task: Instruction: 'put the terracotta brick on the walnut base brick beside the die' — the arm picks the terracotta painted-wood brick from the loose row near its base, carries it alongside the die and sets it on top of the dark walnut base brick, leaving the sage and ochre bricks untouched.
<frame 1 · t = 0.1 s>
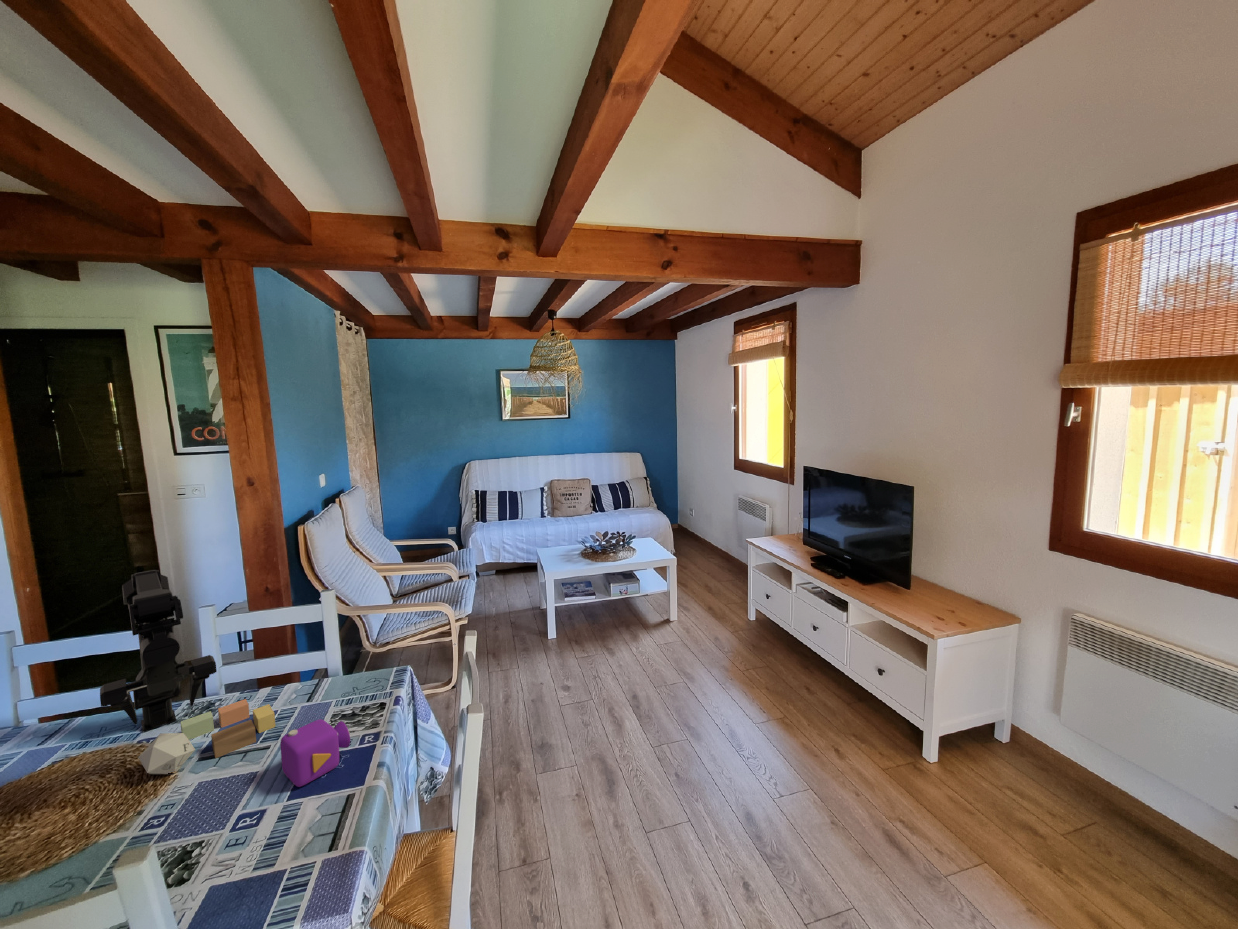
hand: (164, 714, 109), 15 cm above the table, fingers open, 9 cm apart
walnut base: (234, 746, 120), on the table
terracotta brick: (234, 720, 130), on the table
toy camera: (318, 767, 112), on the table
die: (169, 770, 111), on the table
sage brick: (198, 733, 124), on the table
ochre brick: (264, 725, 127), on the table
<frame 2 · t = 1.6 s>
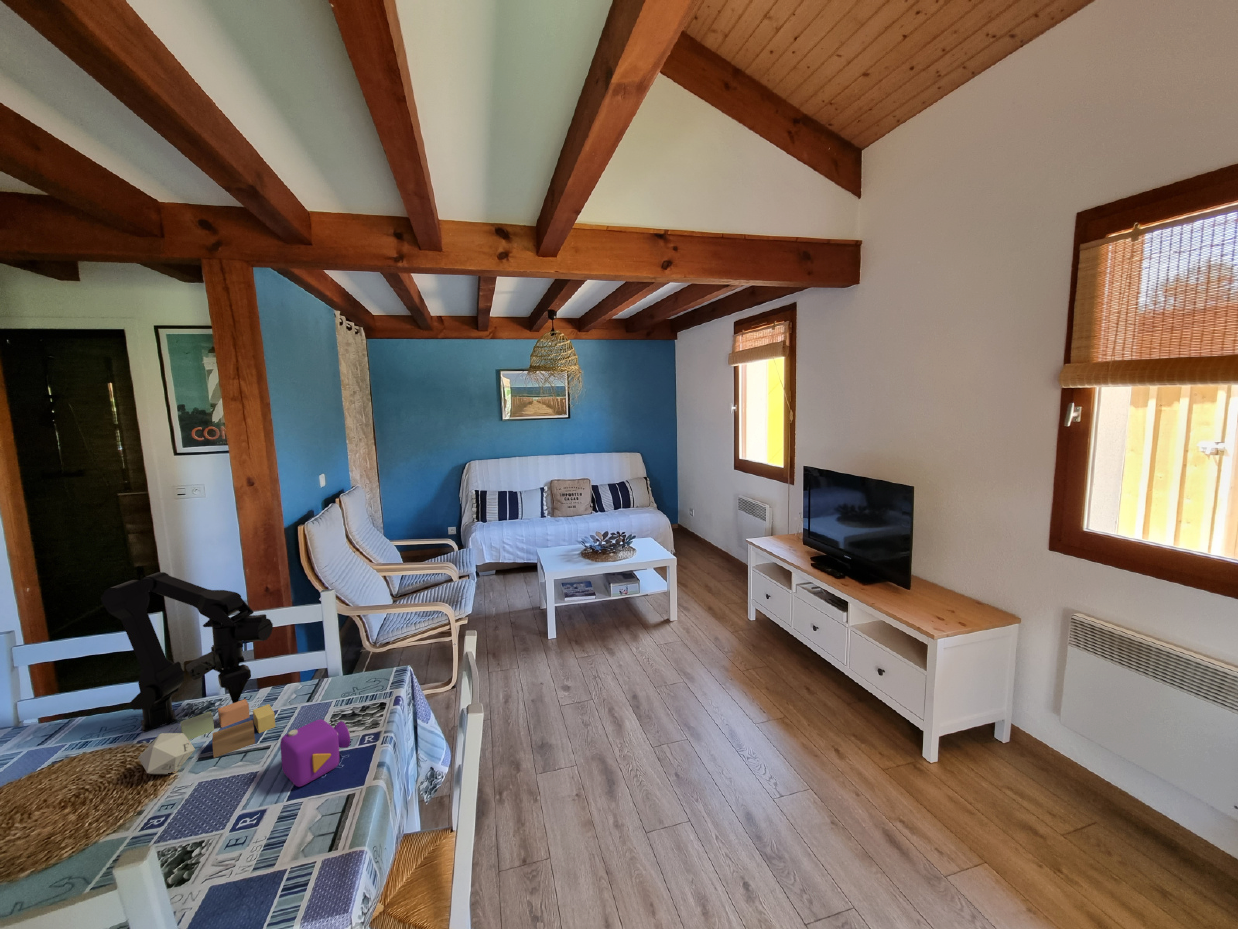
hand: (231, 695, 129), 7 cm above the table, fingers open, 9 cm apart
nothing on the table moved.
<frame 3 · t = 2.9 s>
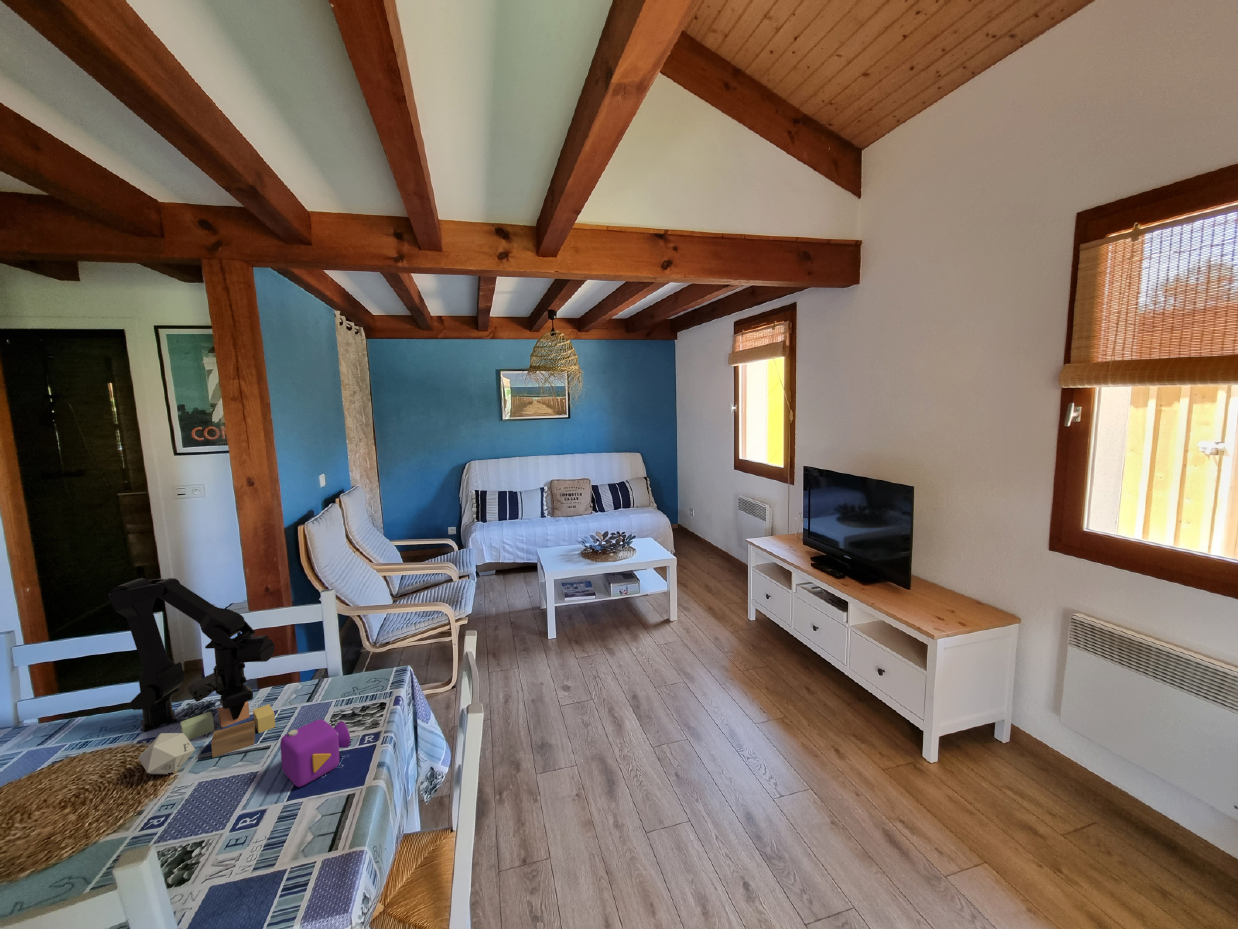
hand: (234, 716, 130), 1 cm above the table, fingers closed on terracotta brick, 4 cm apart
terracotta brick: (234, 719, 130), on the table, touching gripper
everything else where it was.
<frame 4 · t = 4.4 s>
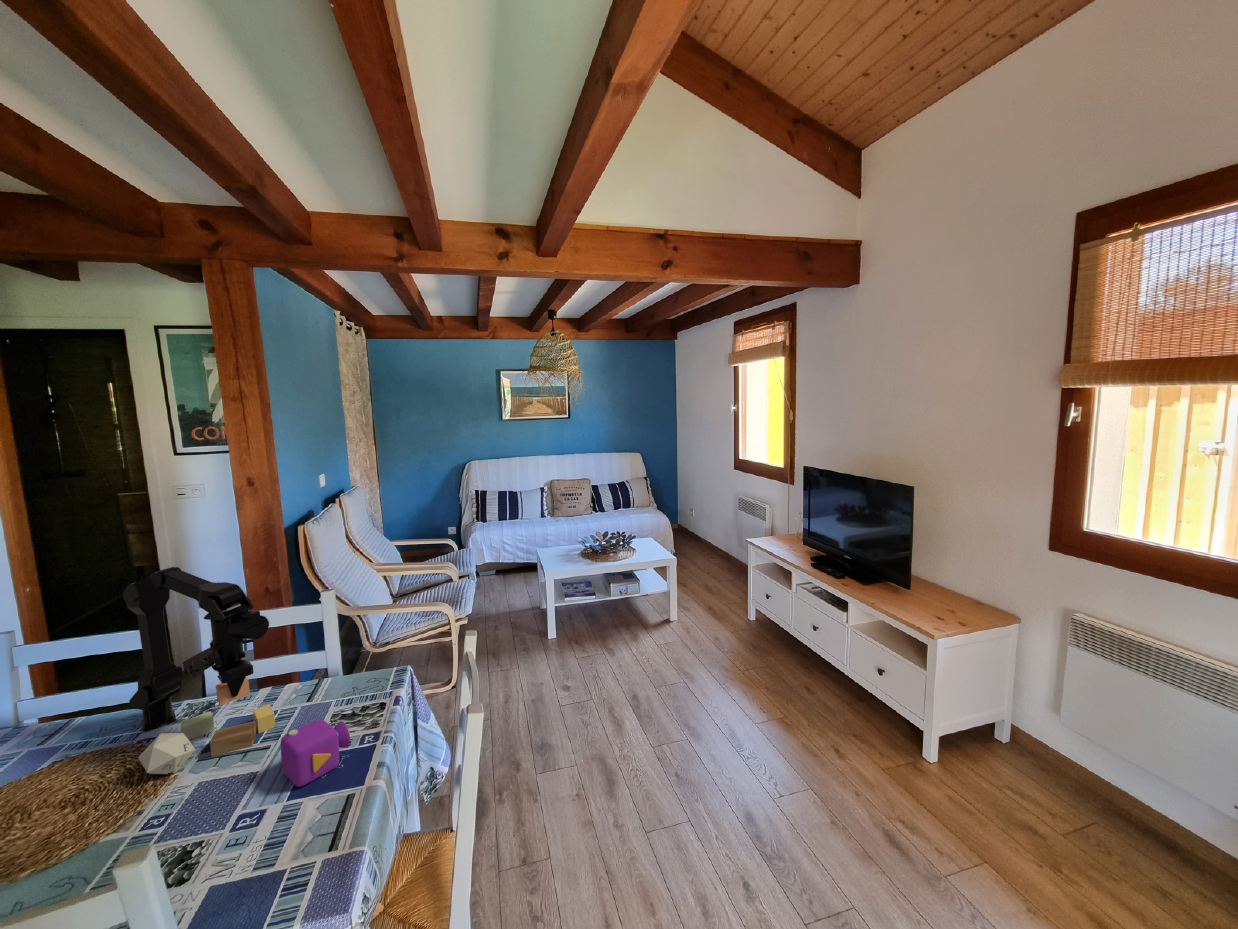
hand: (233, 693, 122), 12 cm above the table, fingers closed on terracotta brick, 4 cm apart
terracotta brick: (233, 697, 122), point 10 cm above the table, touching gripper
everything else where it was.
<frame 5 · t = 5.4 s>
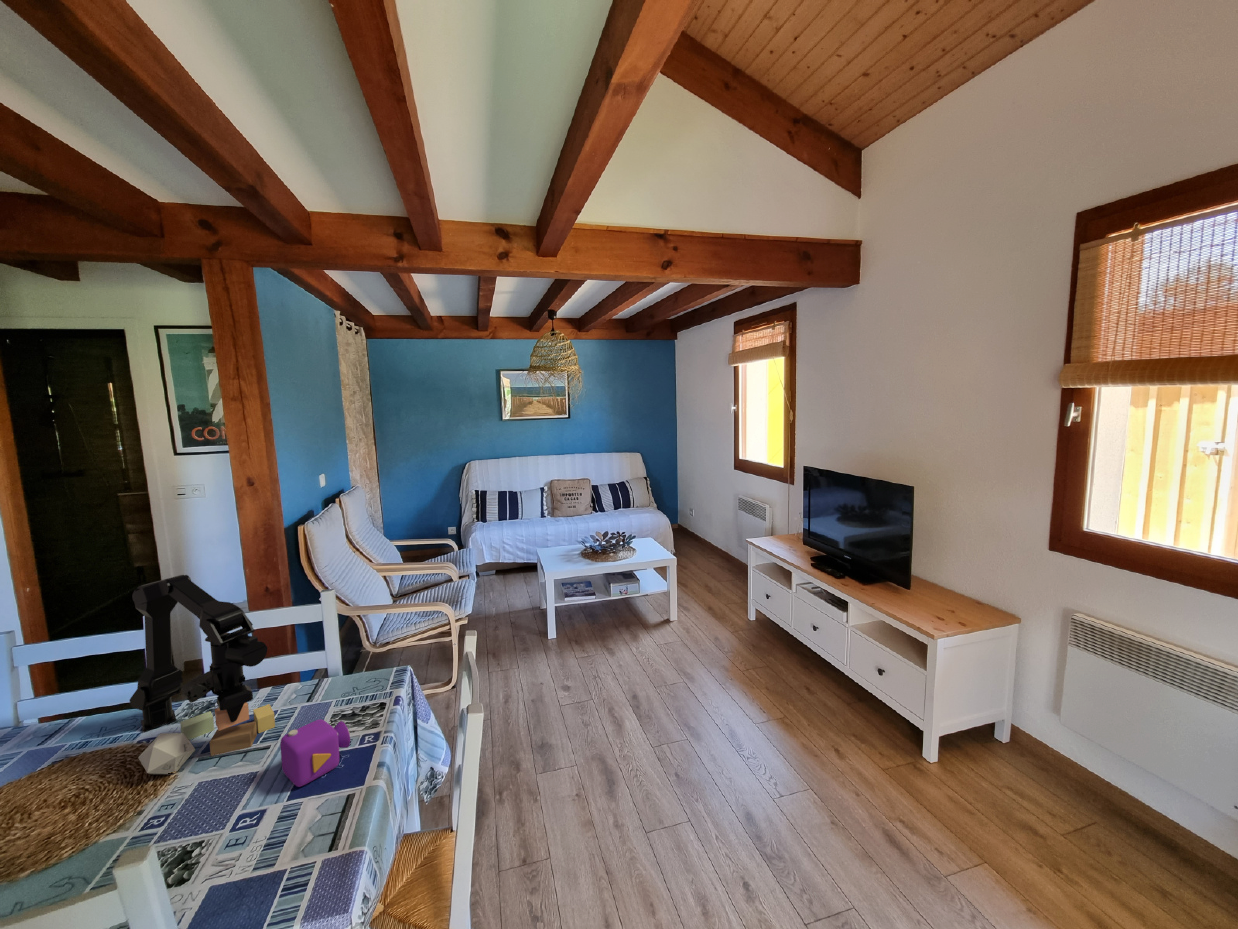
hand: (232, 718, 119), 7 cm above the table, fingers closed on terracotta brick, 4 cm apart
terracotta brick: (232, 721, 119), point 6 cm above the table, touching gripper
everything else where it was.
when the fingers open (6 cm above the table, at t = 5.8 s): terracotta brick drops 1 cm, resting on walnut base.
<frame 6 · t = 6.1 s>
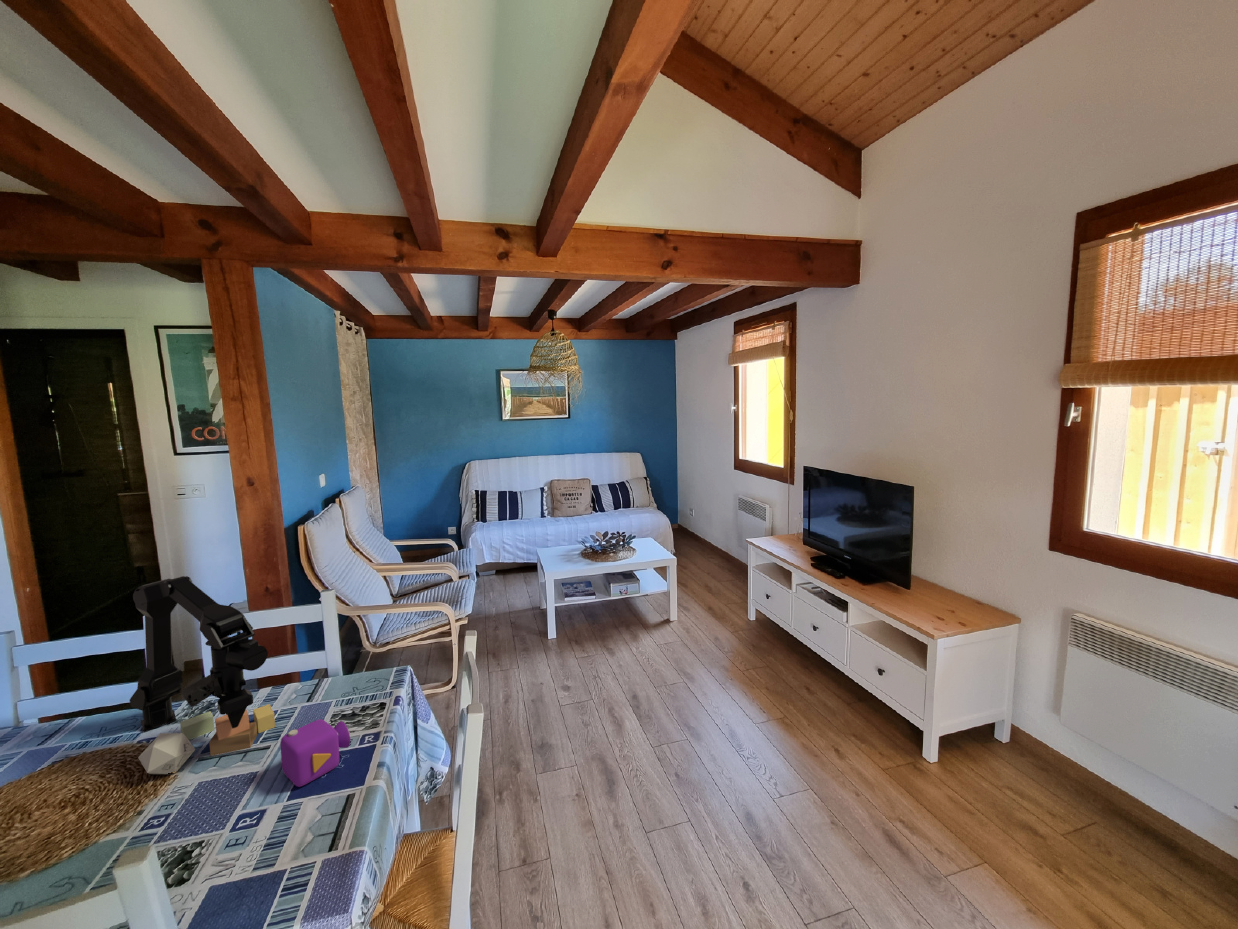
hand: (232, 722, 119), 6 cm above the table, fingers open, 6 cm apart
walnut base: (234, 746, 120), on the table, touching terracotta brick
terracotta brick: (233, 731, 119), point 4 cm above the table, touching walnut base
everything else where it was.
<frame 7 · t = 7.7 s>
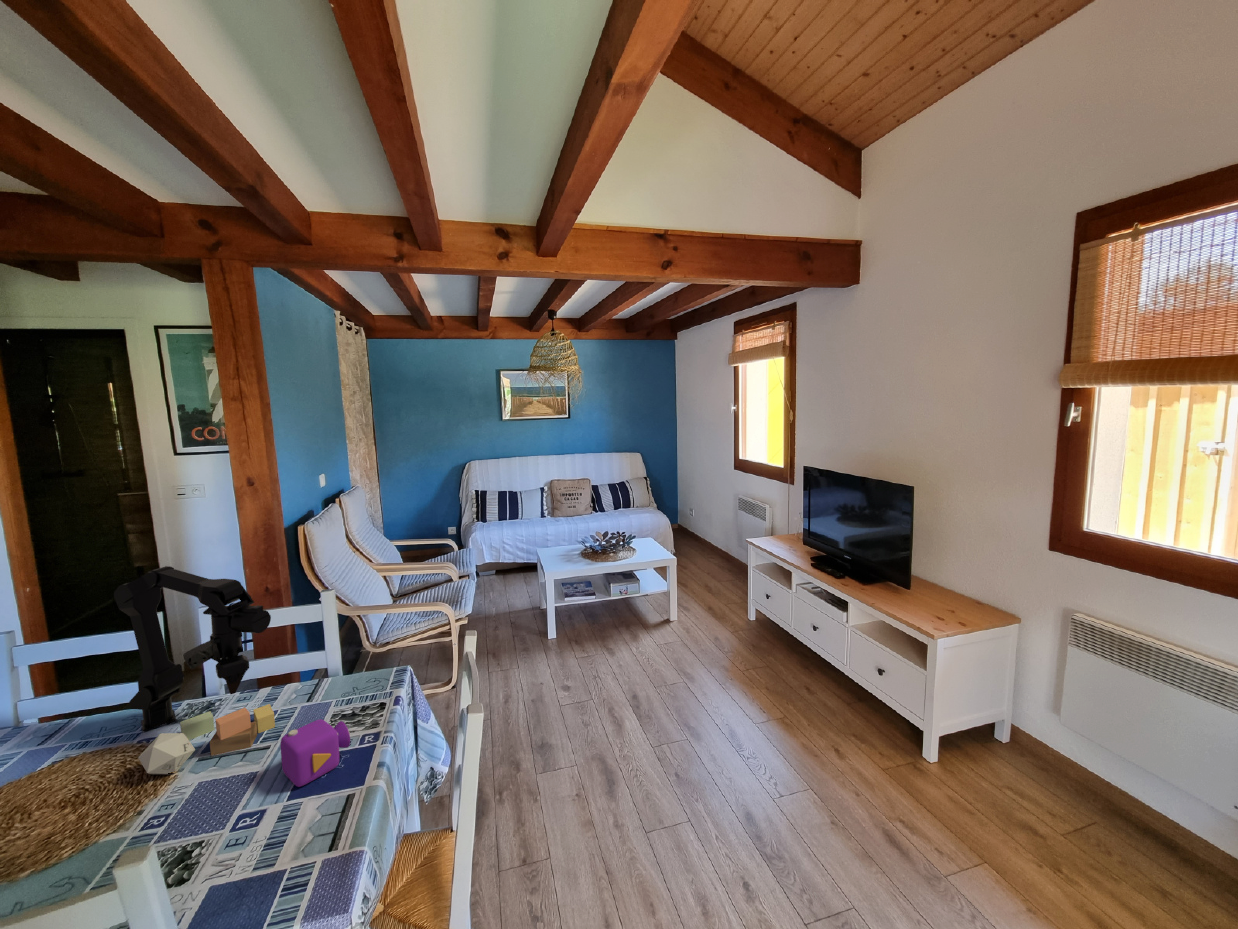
hand: (230, 686, 125), 12 cm above the table, fingers open, 9 cm apart
nothing on the table moved.
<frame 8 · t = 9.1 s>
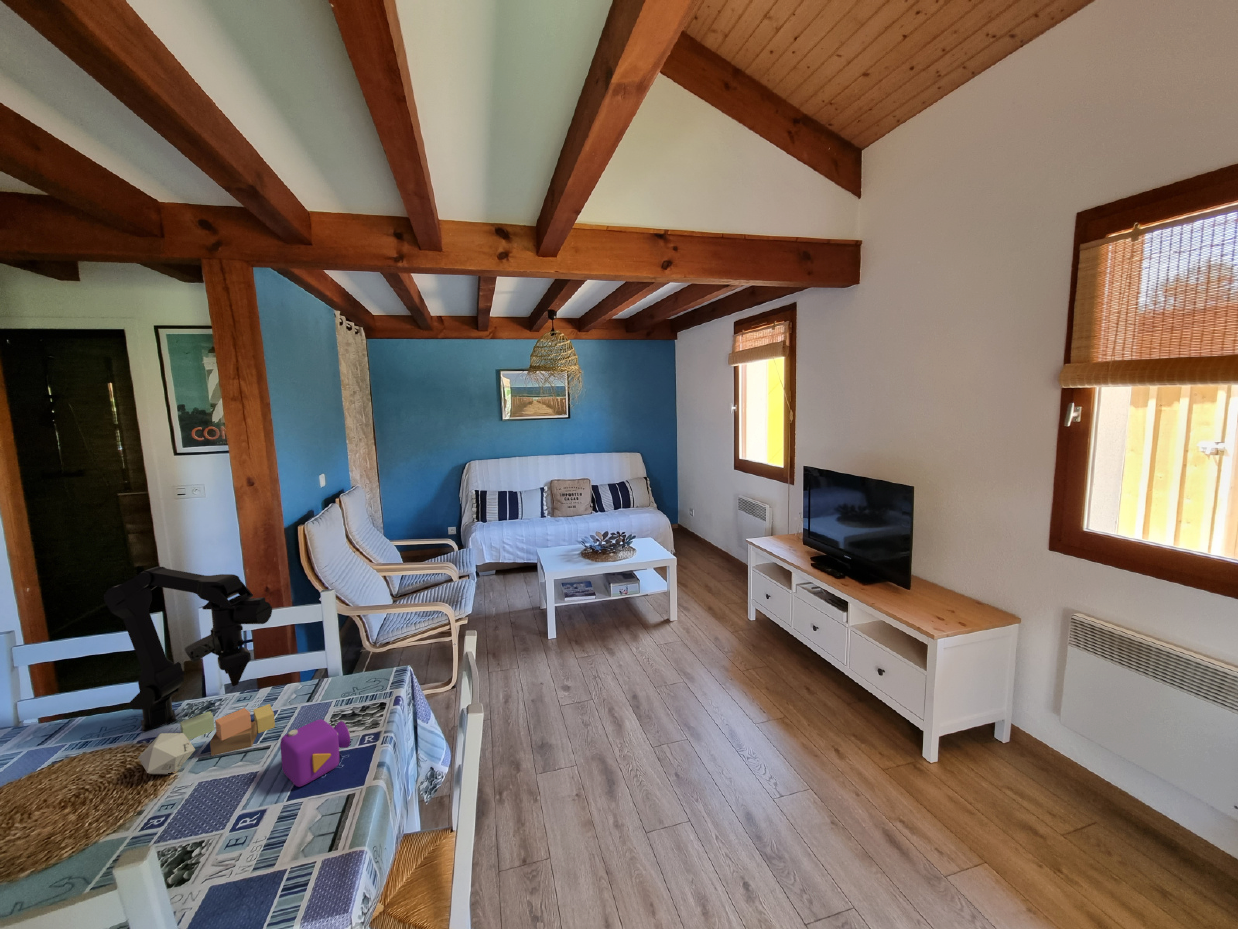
hand: (231, 679, 128), 12 cm above the table, fingers open, 9 cm apart
walnut base: (235, 745, 120), on the table
terracotta brick: (234, 731, 119), point 4 cm above the table
everything else where it was.
at the end: terracotta brick 0.2 cm off-centre on the walnut base, point 4.0 cm above the walnut base's base; sage brick moved 0.2 cm from its start; ochre brick moved 0.2 cm from its start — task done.
